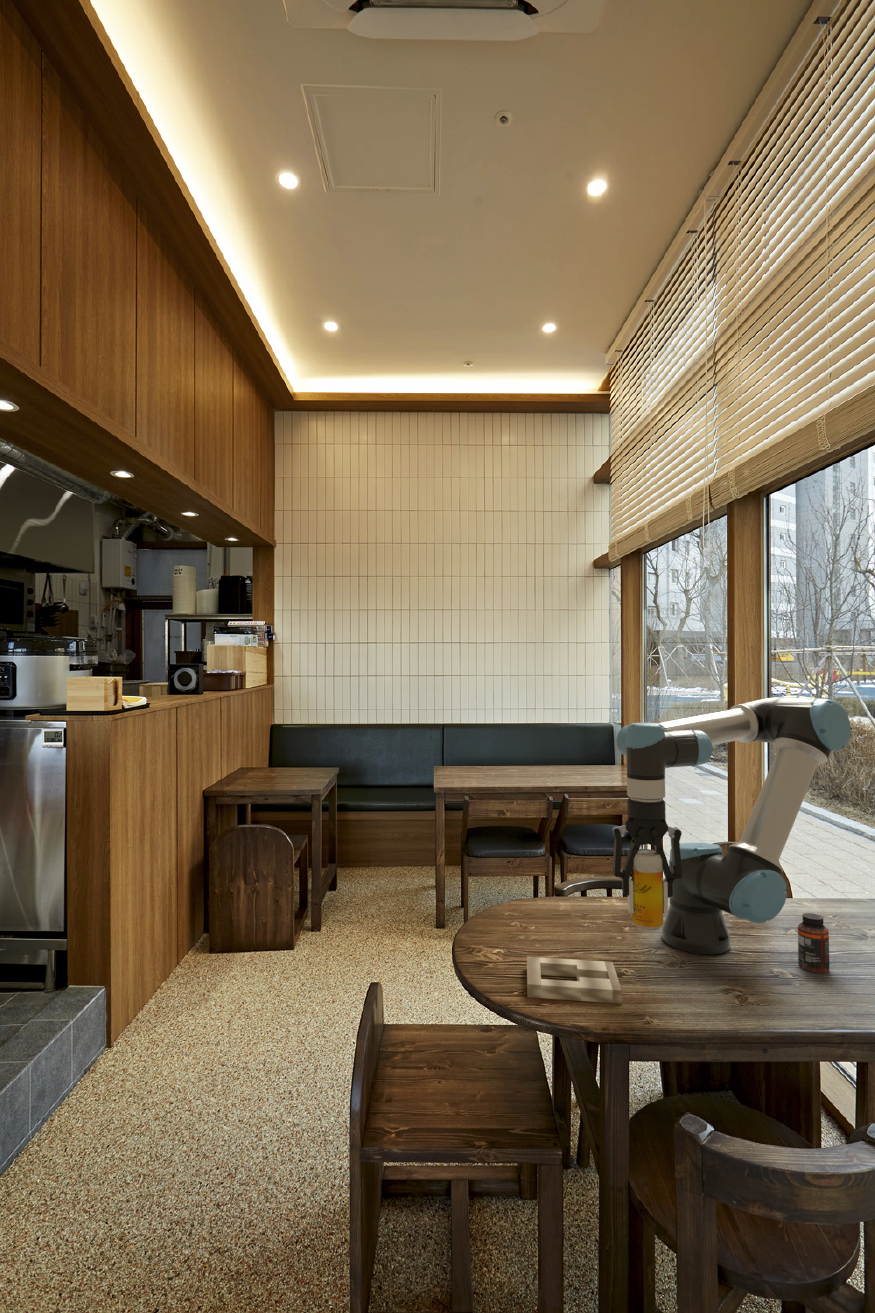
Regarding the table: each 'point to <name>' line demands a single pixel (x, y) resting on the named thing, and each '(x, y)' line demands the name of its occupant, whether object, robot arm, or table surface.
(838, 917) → the table surface
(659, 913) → the beer can
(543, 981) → the keyhole plate
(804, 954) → the supplement bottle
